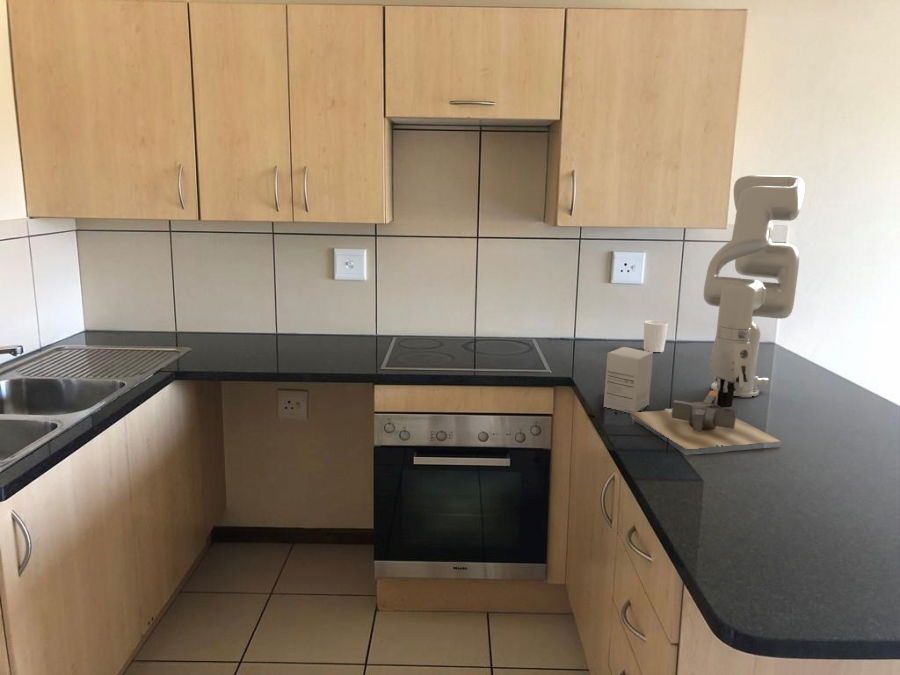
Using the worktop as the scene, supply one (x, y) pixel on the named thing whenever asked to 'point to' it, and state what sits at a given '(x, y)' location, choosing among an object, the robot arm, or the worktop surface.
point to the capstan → (704, 413)
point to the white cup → (655, 335)
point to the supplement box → (628, 379)
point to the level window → (668, 411)
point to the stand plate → (702, 432)
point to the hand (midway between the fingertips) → (724, 406)
